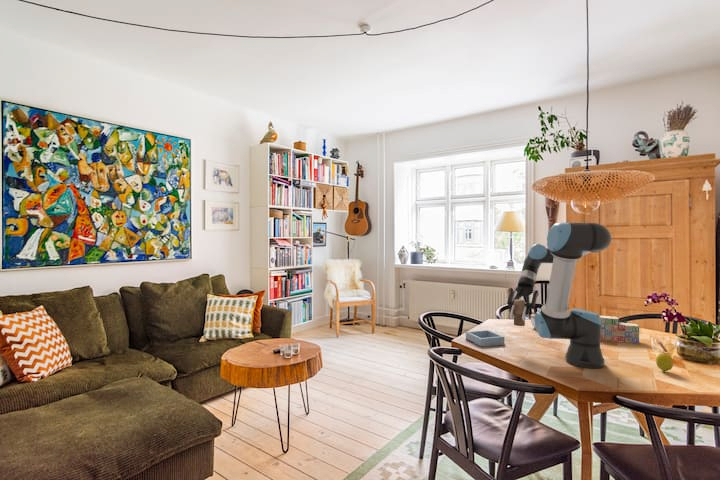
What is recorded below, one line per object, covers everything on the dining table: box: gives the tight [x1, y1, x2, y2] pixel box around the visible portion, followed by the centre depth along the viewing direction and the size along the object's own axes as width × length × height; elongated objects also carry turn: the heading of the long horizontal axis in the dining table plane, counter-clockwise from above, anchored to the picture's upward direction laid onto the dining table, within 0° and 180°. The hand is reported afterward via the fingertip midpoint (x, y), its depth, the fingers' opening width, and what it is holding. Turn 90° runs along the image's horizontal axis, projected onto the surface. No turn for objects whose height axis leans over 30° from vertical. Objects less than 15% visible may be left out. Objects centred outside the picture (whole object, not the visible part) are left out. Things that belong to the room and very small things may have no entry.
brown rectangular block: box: [513, 299, 526, 327], centre depth 187 cm, size 5×5×12 cm
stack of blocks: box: [599, 315, 640, 344], centre depth 207 cm, size 21×6×12 cm, turn 65°
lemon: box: [655, 352, 674, 372], centre depth 160 cm, size 6×6×8 cm
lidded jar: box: [529, 313, 536, 329], centre depth 231 cm, size 11×11×9 cm
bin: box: [465, 329, 505, 347], centre depth 202 cm, size 14×14×4 cm
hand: (517, 318), depth 184 cm, fingers closed on brown rectangular block, 5 cm apart
